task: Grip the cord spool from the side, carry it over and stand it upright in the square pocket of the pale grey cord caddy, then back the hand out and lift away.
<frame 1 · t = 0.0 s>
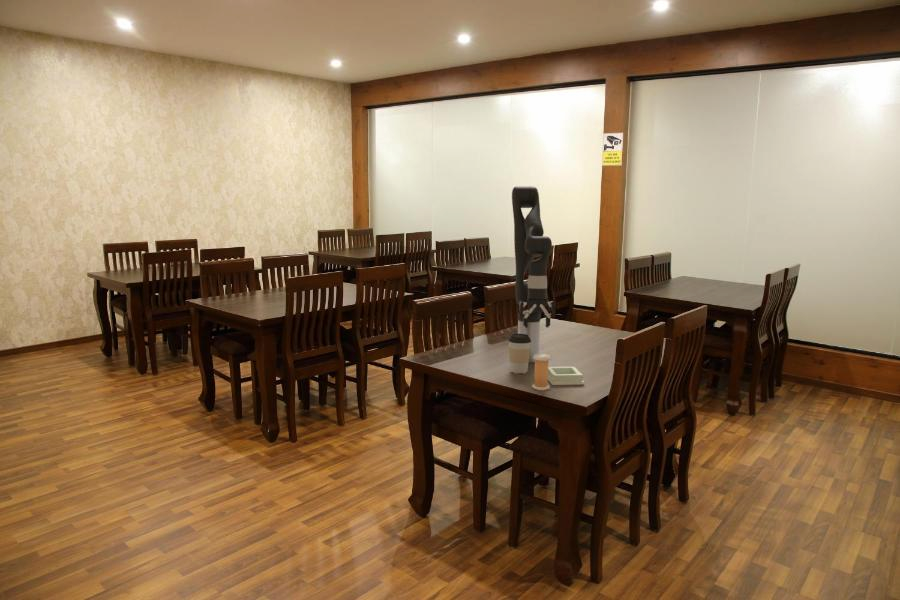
hand: (536, 327, 239), 17 cm above the table, tool pointing down, fingers open, 8 cm apart
cord spool: (540, 387, 218), on the table
coffee cup: (518, 371, 238), on the table
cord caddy: (563, 379, 228), on the table
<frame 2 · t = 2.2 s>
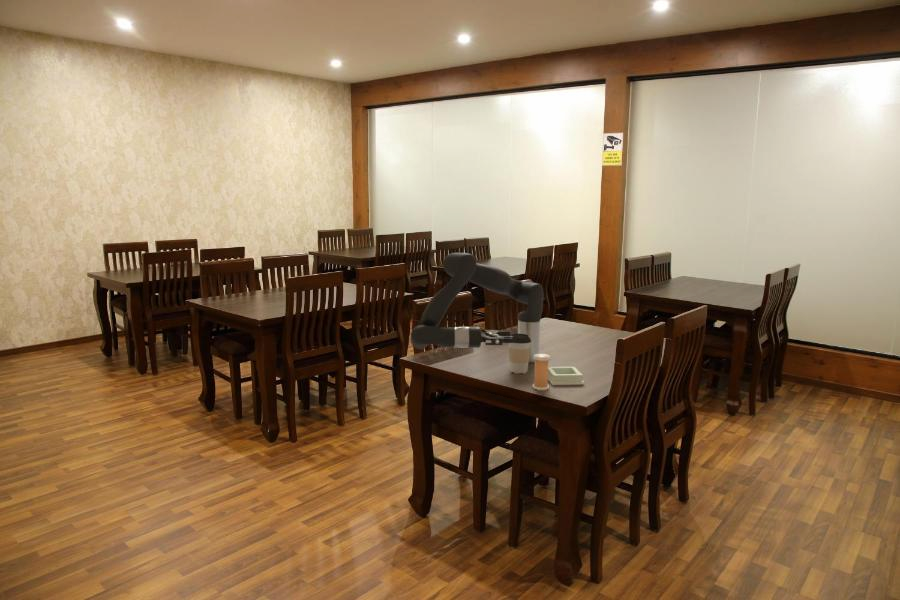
hand: (511, 336, 214), 19 cm above the table, tool horizontal, fingers open, 8 cm apart
nothing on the table moved.
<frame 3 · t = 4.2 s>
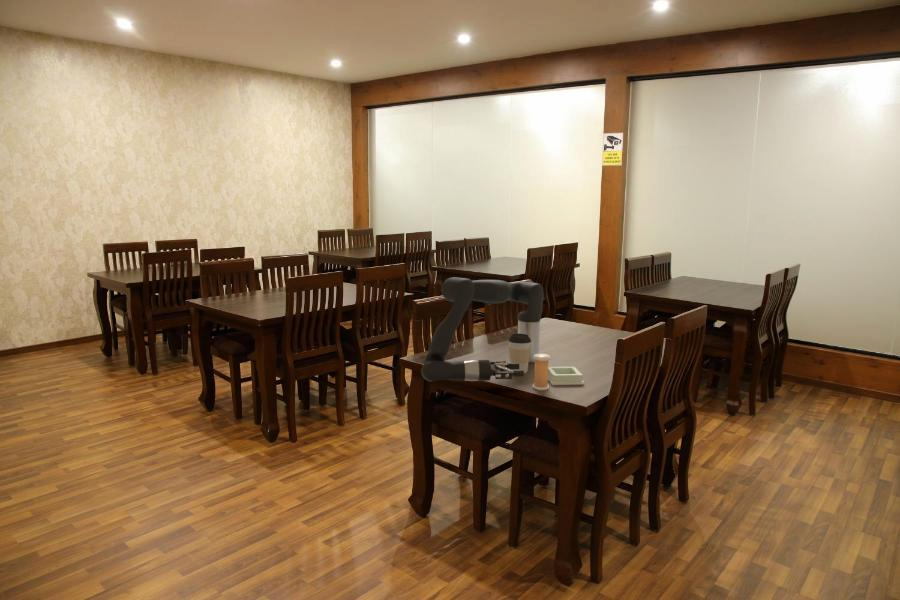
hand: (521, 369, 216), 7 cm above the table, tool horizontal, fingers open, 8 cm apart
nothing on the table moved.
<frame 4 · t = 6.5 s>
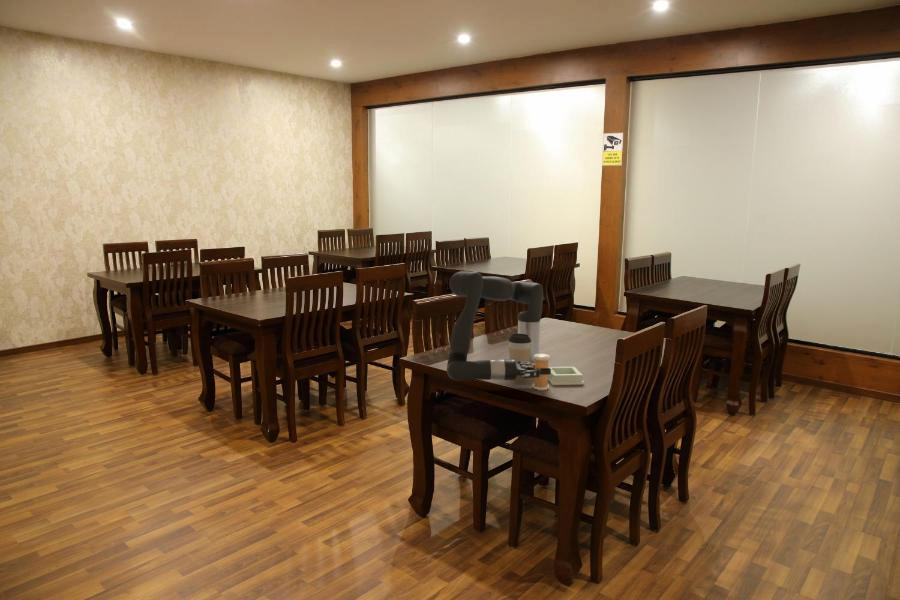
hand: (548, 369, 217), 7 cm above the table, tool horizontal, fingers closed on cord spool, 4 cm apart
cord spool: (540, 387, 218), on the table, touching gripper
everything else where it was.
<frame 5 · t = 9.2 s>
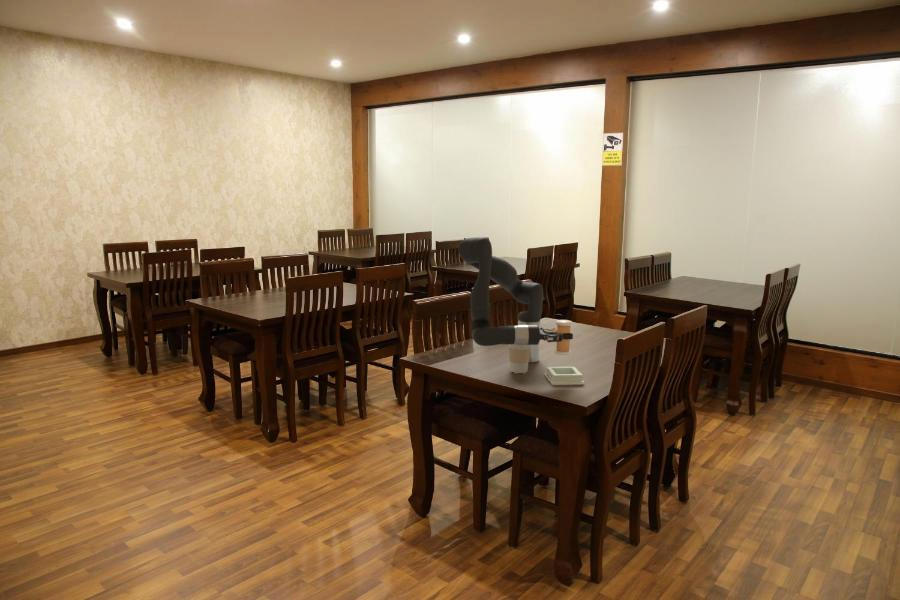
hand: (570, 334, 224), 18 cm above the table, tool horizontal, fingers closed on cord spool, 4 cm apart
cord spool: (562, 352, 225), point 11 cm above the table, touching gripper
everything else where it was.
when the fingers open (9 cm above the table, at t = 11.9 s): cord spool drops 1 cm, resting on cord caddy.
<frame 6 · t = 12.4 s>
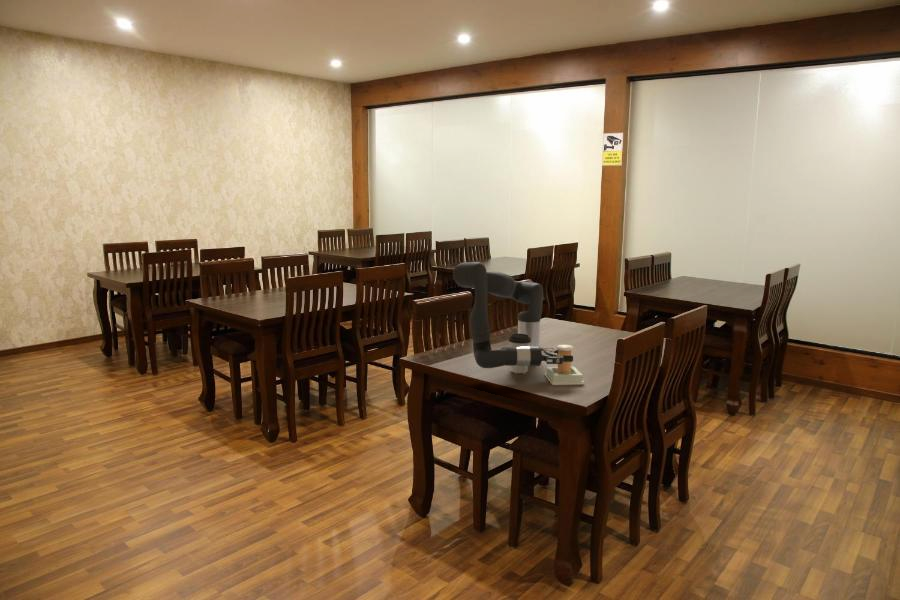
hand: (569, 355, 226), 10 cm above the table, tool horizontal, fingers open, 8 cm apart
cord spool: (563, 377, 228), point 1 cm above the table, touching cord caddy
everything else where it was.
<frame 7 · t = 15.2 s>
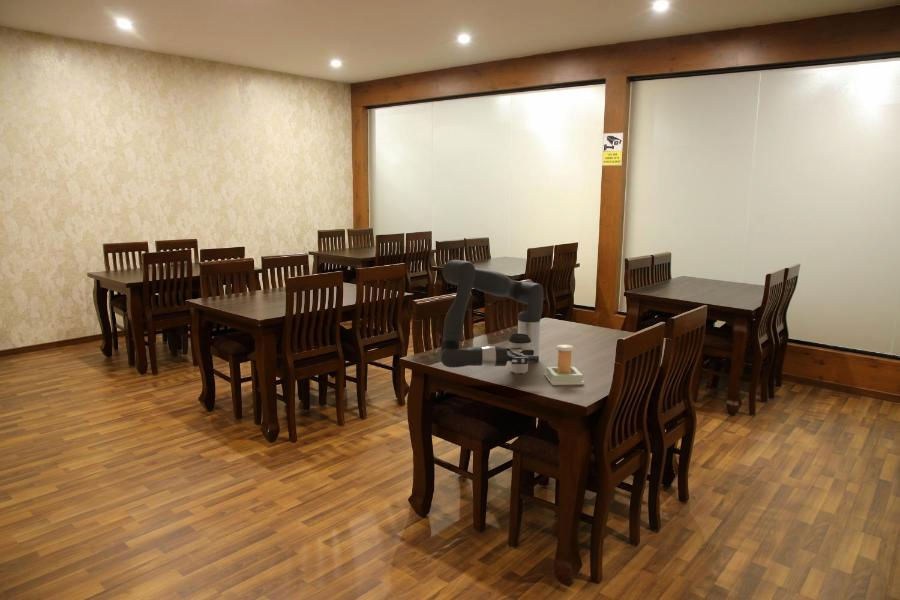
hand: (536, 355, 225), 10 cm above the table, tool horizontal, fingers open, 8 cm apart
nothing on the table moved.
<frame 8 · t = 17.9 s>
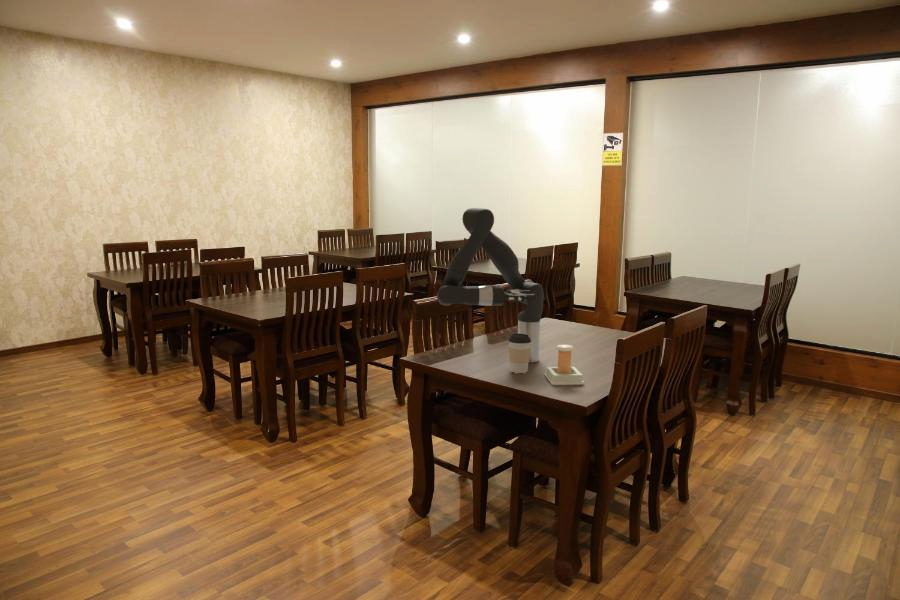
hand: (533, 295, 225), 32 cm above the table, tool horizontal, fingers open, 8 cm apart
nothing on the table moved.
at the end: cord spool 0.1 cm off-centre on the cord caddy, point 1.0 cm above the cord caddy's base; cord spool tilted 0°; the gripper is holding nothing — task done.
